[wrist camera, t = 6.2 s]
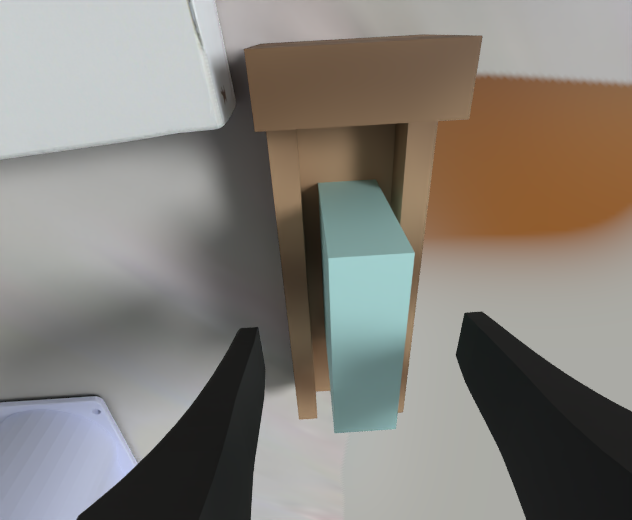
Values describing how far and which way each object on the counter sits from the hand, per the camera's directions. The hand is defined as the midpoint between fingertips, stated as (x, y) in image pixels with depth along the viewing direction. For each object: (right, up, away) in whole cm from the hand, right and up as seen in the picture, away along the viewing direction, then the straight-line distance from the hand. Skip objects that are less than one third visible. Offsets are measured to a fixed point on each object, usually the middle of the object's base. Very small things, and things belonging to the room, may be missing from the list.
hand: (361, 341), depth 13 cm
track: (0, +3, +5) cm, 6 cm away
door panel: (0, +3, +4) cm, 5 cm away
